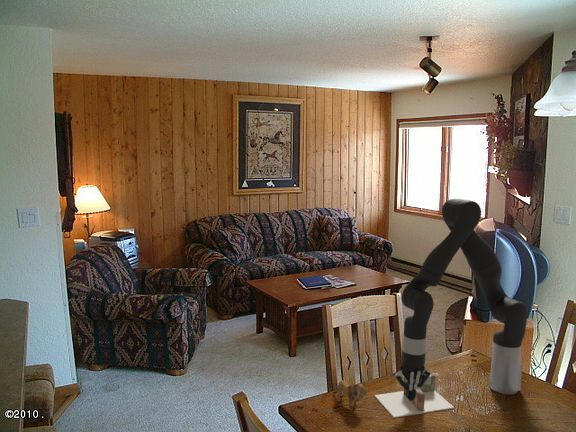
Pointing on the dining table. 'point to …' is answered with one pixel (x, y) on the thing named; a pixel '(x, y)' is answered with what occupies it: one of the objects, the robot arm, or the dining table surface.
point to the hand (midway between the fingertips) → (410, 399)
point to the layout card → (403, 407)
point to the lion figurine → (351, 392)
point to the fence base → (426, 384)
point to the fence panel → (419, 399)
